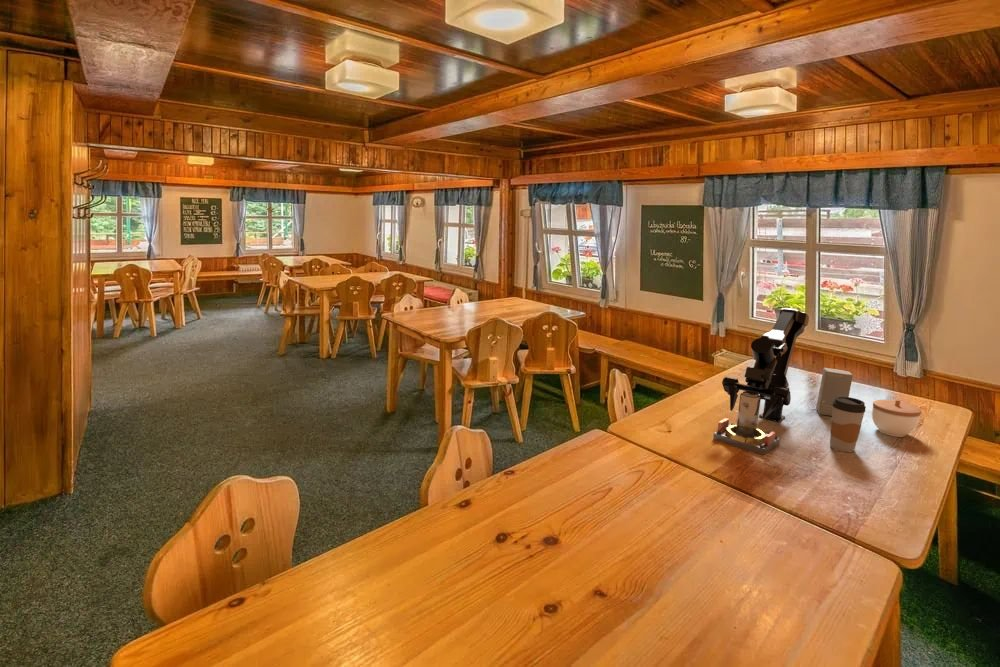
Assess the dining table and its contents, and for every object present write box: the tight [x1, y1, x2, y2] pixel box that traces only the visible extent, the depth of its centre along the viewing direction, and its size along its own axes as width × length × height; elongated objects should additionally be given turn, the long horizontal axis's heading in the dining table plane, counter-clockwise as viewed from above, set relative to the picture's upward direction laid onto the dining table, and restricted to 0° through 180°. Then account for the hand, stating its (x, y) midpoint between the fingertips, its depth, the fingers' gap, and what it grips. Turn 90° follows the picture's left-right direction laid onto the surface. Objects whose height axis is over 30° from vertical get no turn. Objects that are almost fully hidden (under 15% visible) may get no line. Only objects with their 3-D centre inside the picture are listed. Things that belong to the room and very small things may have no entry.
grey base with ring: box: [712, 417, 781, 456], centre depth 163 cm, size 12×15×5 cm
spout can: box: [736, 391, 762, 438], centre depth 160 cm, size 8×6×14 cm, turn 138°
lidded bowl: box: [871, 399, 922, 438], centre depth 173 cm, size 13×13×11 cm
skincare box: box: [815, 367, 854, 417], centre depth 188 cm, size 8×7×16 cm
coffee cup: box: [829, 397, 867, 453], centre depth 159 cm, size 8×8×15 cm
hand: (746, 414), depth 160 cm, fingers open, 9 cm apart
